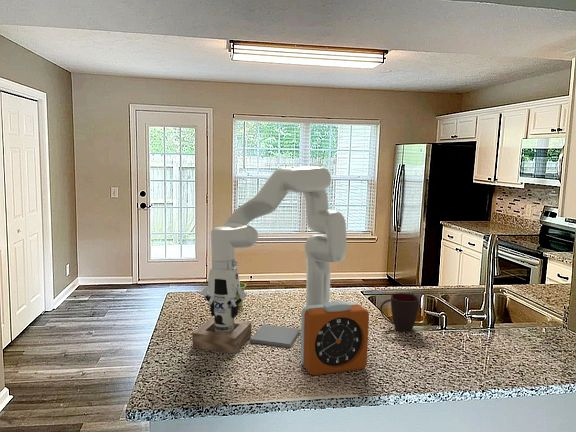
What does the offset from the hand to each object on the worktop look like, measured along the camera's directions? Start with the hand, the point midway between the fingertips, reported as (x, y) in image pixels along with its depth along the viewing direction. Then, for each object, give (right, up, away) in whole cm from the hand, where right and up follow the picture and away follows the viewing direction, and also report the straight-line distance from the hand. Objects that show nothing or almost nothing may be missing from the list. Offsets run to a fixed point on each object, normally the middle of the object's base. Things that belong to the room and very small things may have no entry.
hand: (224, 315), depth 152 cm
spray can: (0, -7, +1) cm, 7 cm away
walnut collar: (-1, -9, +1) cm, 9 cm away
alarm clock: (+35, -12, -16) cm, 41 cm away
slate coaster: (+17, -9, +5) cm, 20 cm away
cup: (+62, -8, +15) cm, 65 cm away
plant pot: (-1, -4, +38) cm, 38 cm away
